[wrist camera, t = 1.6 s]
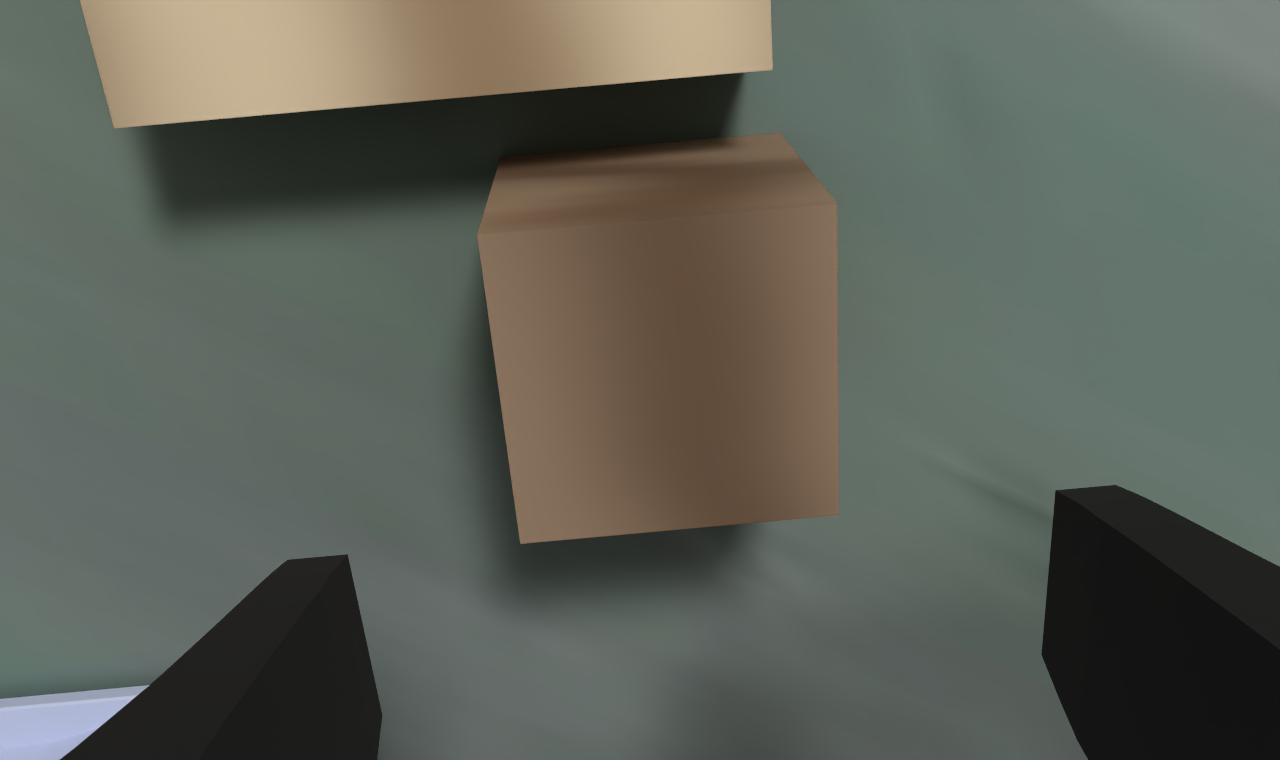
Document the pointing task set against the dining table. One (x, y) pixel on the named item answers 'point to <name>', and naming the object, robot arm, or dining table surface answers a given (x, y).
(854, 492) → the dining table surface
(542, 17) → the oak block
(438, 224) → the dining table surface
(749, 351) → the walnut cube
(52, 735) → the robot arm
